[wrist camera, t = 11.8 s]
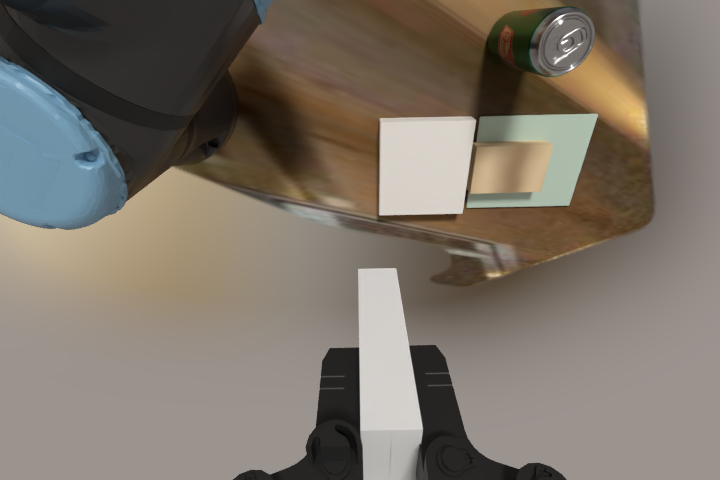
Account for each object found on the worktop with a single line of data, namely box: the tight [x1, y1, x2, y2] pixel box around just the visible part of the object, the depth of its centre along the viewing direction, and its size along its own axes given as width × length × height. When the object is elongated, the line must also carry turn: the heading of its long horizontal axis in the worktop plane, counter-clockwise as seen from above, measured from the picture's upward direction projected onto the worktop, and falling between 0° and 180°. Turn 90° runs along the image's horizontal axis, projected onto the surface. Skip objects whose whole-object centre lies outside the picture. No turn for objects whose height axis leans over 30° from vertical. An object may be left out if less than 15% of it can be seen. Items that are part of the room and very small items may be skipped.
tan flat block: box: [466, 140, 553, 194], centre depth 44 cm, size 9×6×2 cm, turn 92°
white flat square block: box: [379, 116, 476, 215], centre depth 45 cm, size 11×12×2 cm
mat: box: [466, 114, 598, 208], centre depth 45 cm, size 14×12×1 cm
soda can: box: [488, 6, 595, 77], centre depth 33 cm, size 5×5×12 cm
